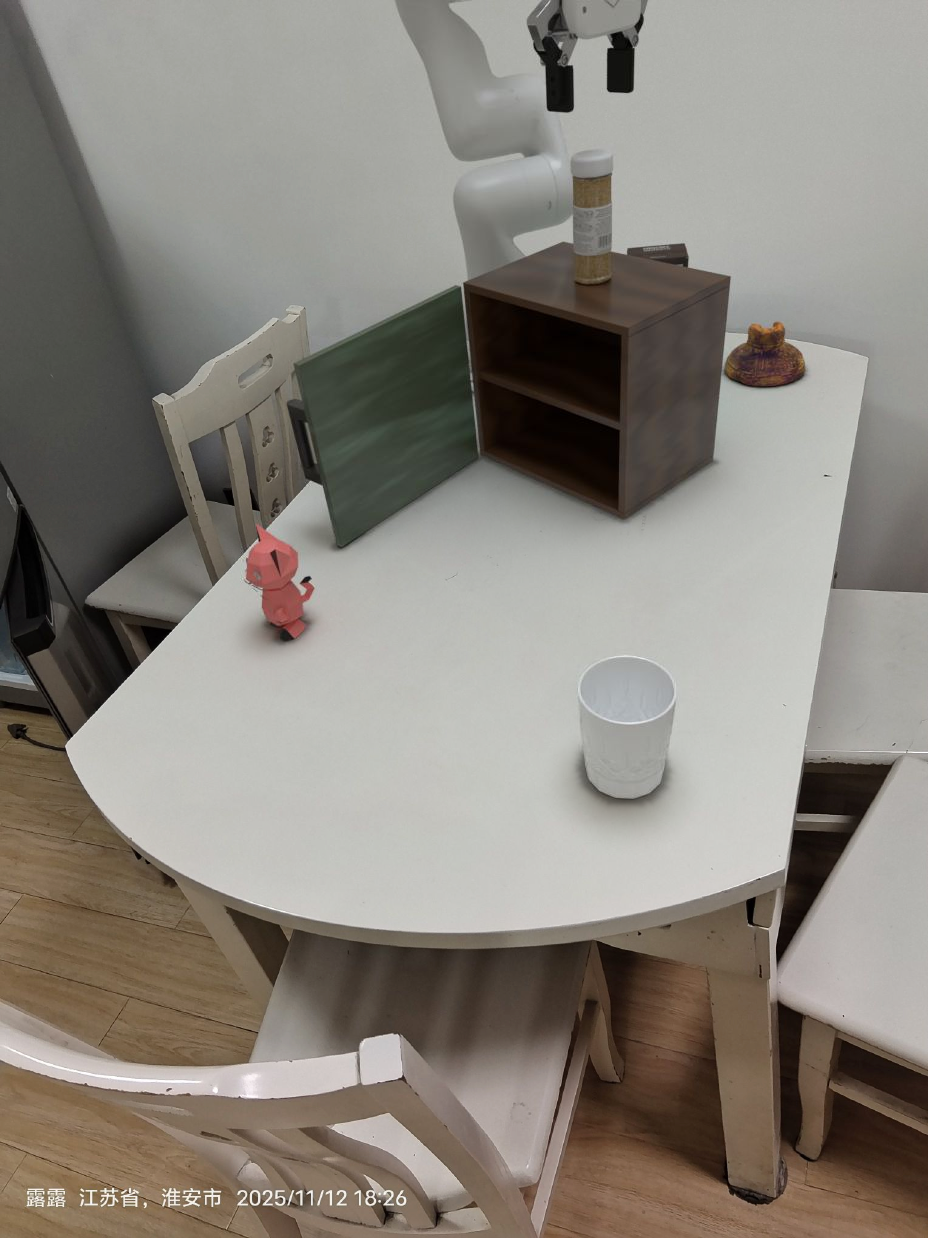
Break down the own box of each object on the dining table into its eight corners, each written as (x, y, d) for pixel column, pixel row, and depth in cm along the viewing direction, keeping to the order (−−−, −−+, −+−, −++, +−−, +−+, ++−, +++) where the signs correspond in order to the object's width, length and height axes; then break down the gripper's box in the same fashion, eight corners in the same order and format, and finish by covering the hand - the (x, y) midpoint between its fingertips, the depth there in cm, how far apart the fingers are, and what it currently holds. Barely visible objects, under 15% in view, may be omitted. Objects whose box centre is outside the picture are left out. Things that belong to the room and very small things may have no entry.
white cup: (571, 741, 78) (569, 661, 72) (657, 730, 78) (662, 649, 72) (588, 811, 72) (587, 730, 66) (681, 799, 72) (689, 716, 66)
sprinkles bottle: (598, 269, 103) (598, 145, 95) (619, 279, 100) (621, 151, 91) (565, 278, 102) (562, 153, 93) (586, 289, 99) (585, 160, 90)
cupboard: (624, 520, 104) (628, 327, 89) (480, 455, 120) (462, 282, 105) (713, 461, 113) (731, 275, 97) (567, 407, 129) (563, 241, 113)
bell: (717, 384, 129) (722, 337, 125) (732, 352, 138) (736, 307, 133) (799, 391, 125) (806, 342, 120) (808, 357, 133) (816, 311, 129)
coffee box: (680, 343, 142) (686, 241, 132) (684, 359, 137) (690, 255, 127) (624, 346, 144) (626, 246, 133) (626, 362, 139) (628, 259, 128)
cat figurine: (252, 620, 97) (222, 532, 89) (307, 596, 99) (283, 509, 91) (274, 654, 92) (244, 564, 84) (332, 628, 94) (308, 539, 86)
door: (304, 529, 110) (257, 351, 95) (440, 444, 124) (418, 277, 108) (341, 547, 106) (298, 365, 91) (478, 457, 119) (461, 285, 104)
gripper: (558, -109, 72) (563, 121, 83) (679, -125, 81) (670, 86, 91) (495, -101, 77) (508, 117, 87) (616, -116, 85) (614, 84, 96)
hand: (591, 101), depth 89 cm, fingers open, 9 cm apart
